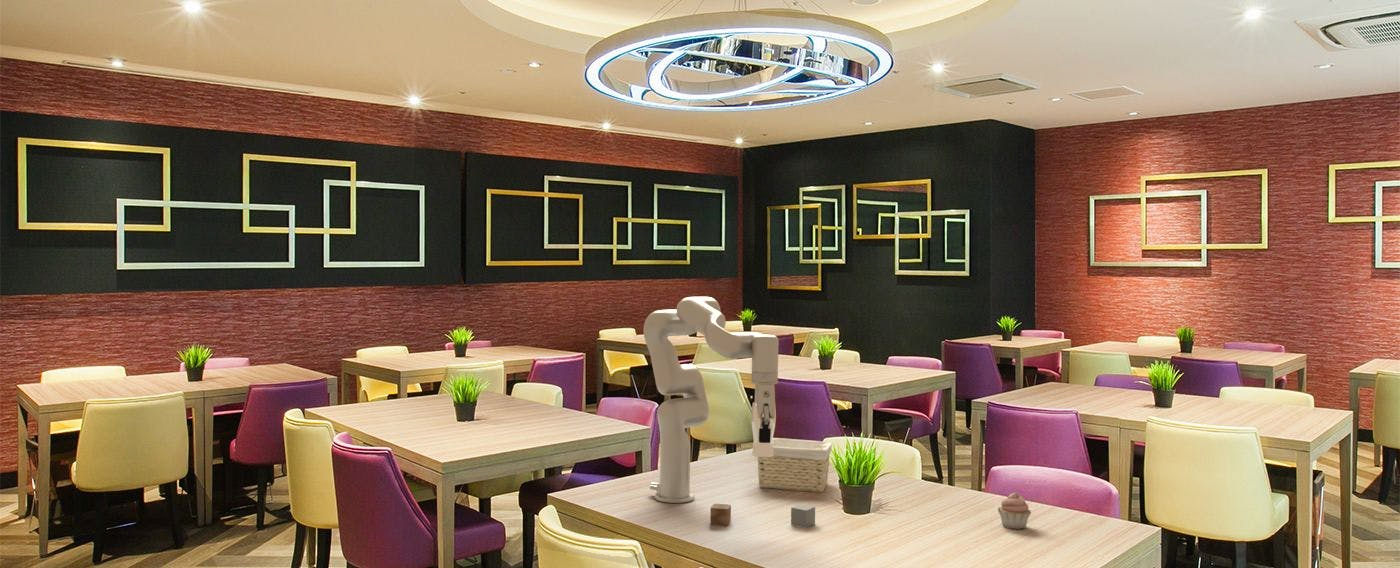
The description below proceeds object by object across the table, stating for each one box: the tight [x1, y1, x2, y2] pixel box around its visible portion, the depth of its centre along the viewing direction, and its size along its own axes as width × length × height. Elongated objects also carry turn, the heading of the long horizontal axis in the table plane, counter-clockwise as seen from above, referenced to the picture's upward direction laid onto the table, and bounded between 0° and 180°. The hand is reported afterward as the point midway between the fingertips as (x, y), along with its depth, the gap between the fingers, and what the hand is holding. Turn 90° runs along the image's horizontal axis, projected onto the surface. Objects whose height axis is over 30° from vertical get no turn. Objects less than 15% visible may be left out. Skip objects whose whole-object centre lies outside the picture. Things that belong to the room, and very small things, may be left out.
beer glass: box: [750, 401, 777, 458], centre depth 262 cm, size 7×7×15 cm
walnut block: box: [709, 503, 732, 527], centre depth 262 cm, size 5×5×5 cm
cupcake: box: [997, 492, 1032, 530], centre depth 263 cm, size 9×9×10 cm
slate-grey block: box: [790, 503, 816, 529], centre depth 263 cm, size 5×5×5 cm
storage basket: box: [757, 437, 833, 493], centre depth 309 cm, size 24×16×15 cm
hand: (763, 439), depth 262 cm, fingers closed on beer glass, 6 cm apart
